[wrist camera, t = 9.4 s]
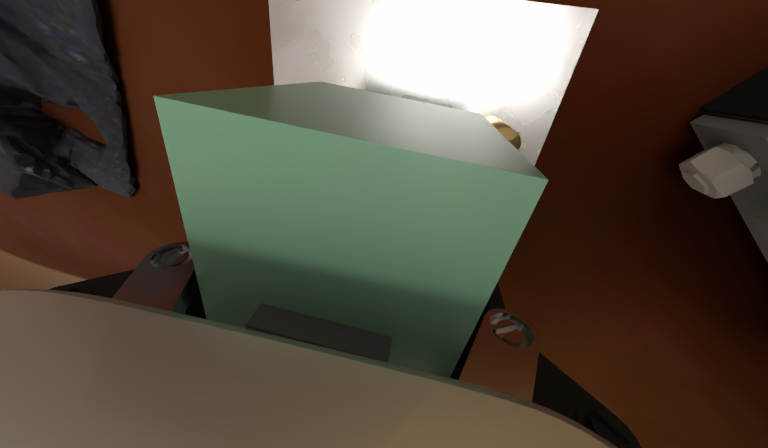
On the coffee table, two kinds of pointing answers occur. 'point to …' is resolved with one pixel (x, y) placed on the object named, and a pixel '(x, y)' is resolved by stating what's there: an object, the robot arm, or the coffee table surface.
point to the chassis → (439, 54)
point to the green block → (346, 215)
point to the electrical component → (735, 153)
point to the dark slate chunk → (58, 100)
